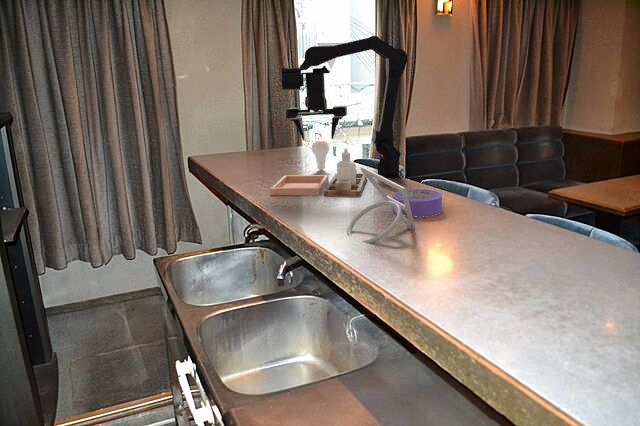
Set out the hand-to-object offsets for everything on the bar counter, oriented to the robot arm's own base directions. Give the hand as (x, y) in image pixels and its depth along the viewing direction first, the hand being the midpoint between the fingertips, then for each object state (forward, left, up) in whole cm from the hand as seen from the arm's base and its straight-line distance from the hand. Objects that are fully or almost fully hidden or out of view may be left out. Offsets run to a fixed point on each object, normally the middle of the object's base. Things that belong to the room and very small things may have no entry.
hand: (318, 139), depth 166 cm
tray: (+3, +15, -13) cm, 20 cm away
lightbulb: (+2, -14, -13) cm, 19 cm away
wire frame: (-25, +57, -16) cm, 64 cm away
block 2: (-10, +5, -13) cm, 17 cm away
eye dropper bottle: (-10, +14, -13) cm, 22 cm away
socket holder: (-10, +13, -13) cm, 21 cm away
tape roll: (-30, +40, -13) cm, 52 cm away
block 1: (-10, +21, -13) cm, 27 cm away
